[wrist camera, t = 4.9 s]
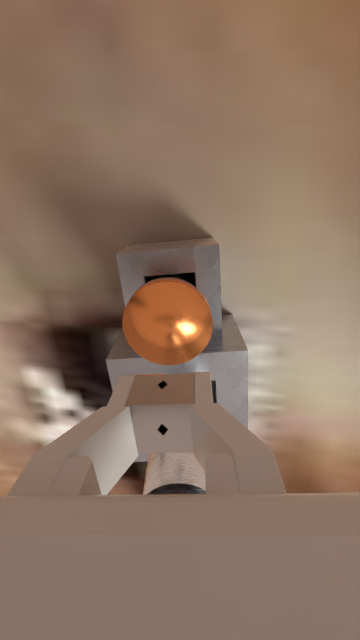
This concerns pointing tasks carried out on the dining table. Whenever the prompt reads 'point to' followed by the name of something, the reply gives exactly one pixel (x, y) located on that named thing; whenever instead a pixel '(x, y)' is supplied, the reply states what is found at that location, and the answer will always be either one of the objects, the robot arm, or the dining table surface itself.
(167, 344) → the orange rounded piece
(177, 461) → the banded metal cylinder
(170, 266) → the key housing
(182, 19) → the dining table surface
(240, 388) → the socket block
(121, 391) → the robot arm
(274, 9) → the dining table surface
